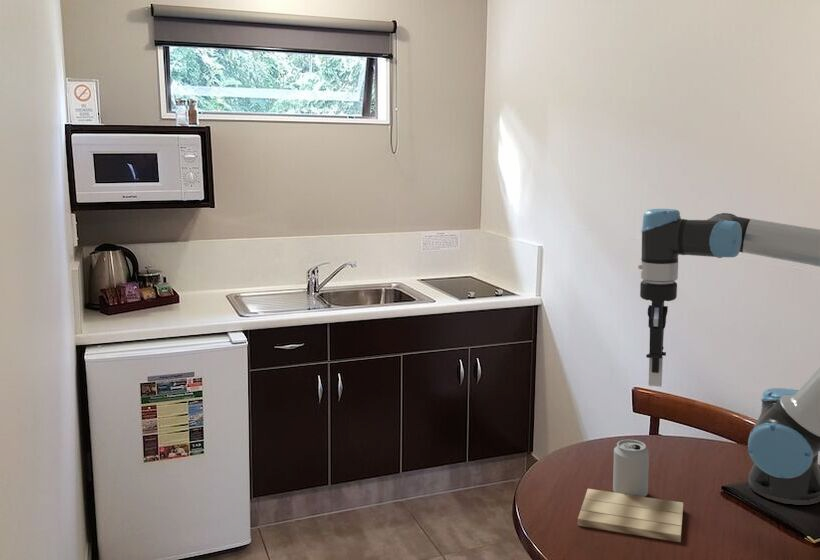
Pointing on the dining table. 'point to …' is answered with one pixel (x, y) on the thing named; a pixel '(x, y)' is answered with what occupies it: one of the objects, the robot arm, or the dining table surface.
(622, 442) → the can
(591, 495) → the plank
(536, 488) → the dining table surface
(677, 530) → the laid board
